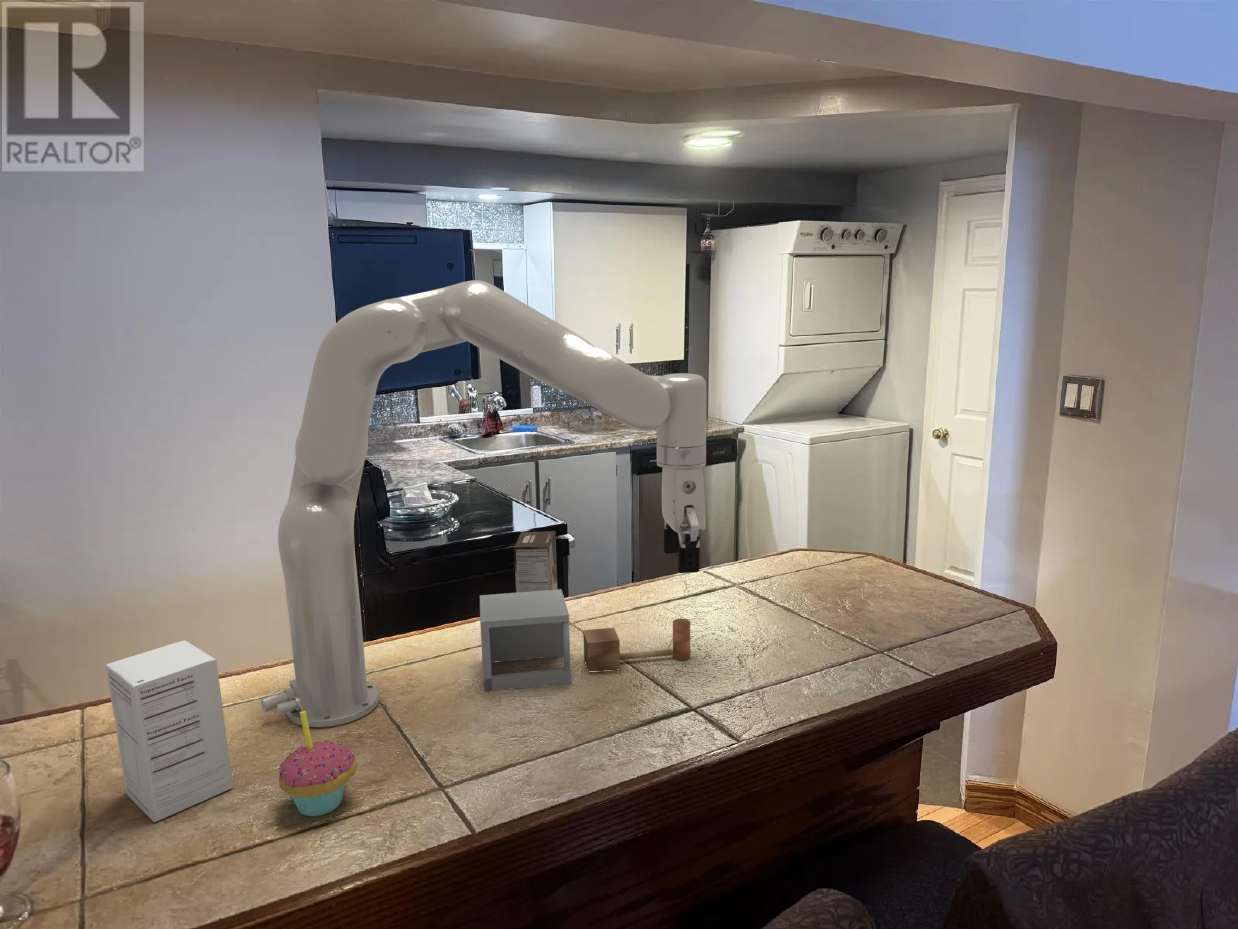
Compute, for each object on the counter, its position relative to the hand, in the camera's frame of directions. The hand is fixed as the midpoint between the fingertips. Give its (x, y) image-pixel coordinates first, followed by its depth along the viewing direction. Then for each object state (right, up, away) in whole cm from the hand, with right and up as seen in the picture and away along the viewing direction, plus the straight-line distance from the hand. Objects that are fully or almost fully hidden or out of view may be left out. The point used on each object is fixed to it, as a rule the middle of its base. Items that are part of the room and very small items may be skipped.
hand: (680, 562), depth 131 cm
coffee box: (-24, -13, +17) cm, 33 cm away
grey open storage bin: (-24, -17, -1) cm, 30 cm away
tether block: (-7, -16, +2) cm, 17 cm away
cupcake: (-44, -25, -34) cm, 61 cm away
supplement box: (-63, -24, -30) cm, 74 cm away
